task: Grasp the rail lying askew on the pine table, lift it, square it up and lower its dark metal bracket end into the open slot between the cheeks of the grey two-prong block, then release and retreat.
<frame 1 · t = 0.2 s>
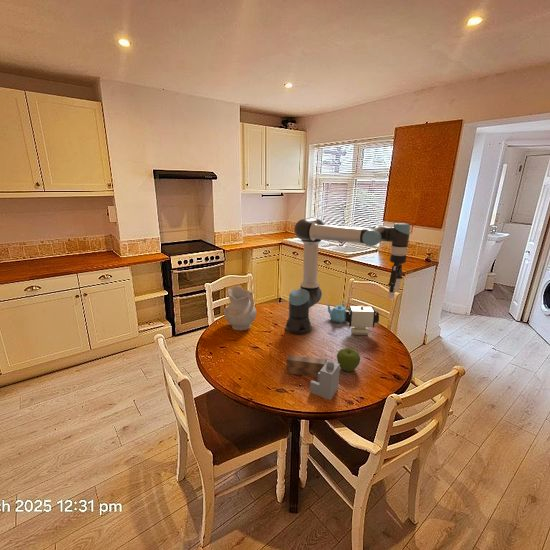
hand: (393, 294, 156), 28 cm above the table, fingers open, 13 cm apart
grey two-prong block: (328, 392, 124), on the table
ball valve: (359, 334, 173), on the table
teapot: (338, 320, 190), on the table
ceramic pitcher: (242, 327, 182), on the table
rail: (306, 372, 137), on the table
apple: (347, 369, 140), on the table
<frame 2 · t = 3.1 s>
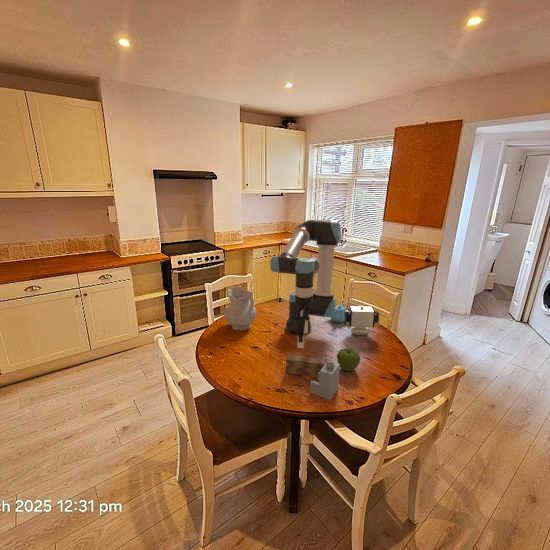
hand: (302, 340, 132), 17 cm above the table, fingers open, 13 cm apart
nothing on the table moved.
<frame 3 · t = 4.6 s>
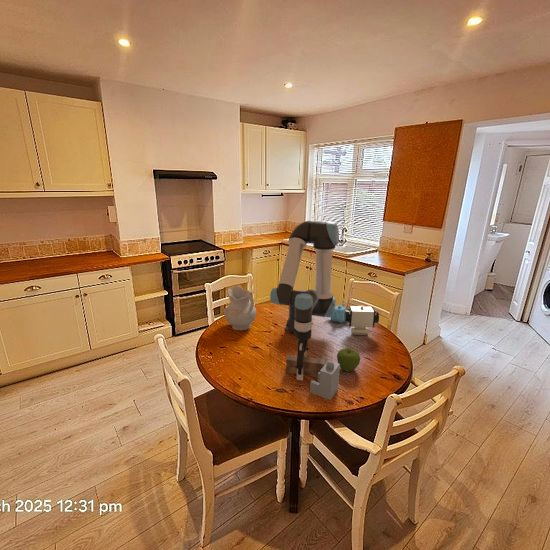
hand: (301, 370, 137), 1 cm above the table, fingers open, 12 cm apart
nothing on the table moved.
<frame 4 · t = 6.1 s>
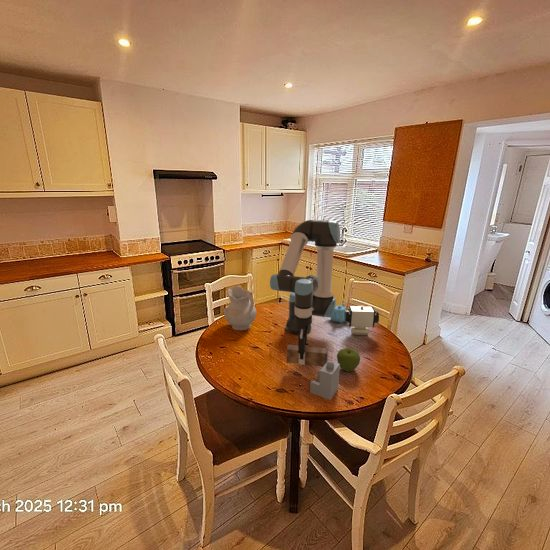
hand: (302, 361, 136), 5 cm above the table, fingers closed on rail, 4 cm apart
rail: (306, 362, 136), point 5 cm above the table, touching gripper
everything else where it was.
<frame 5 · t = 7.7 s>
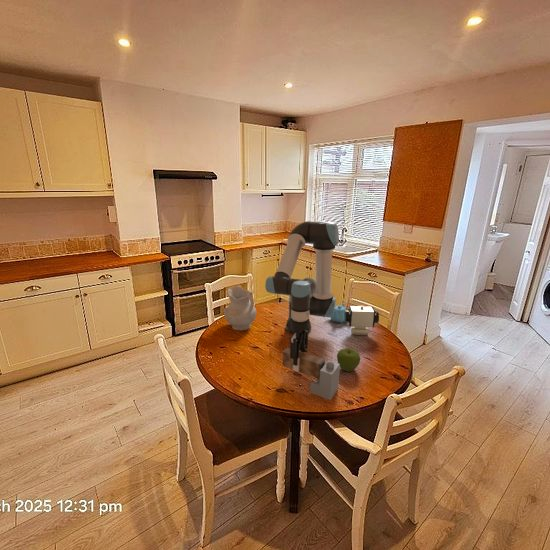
hand: (298, 368, 129), 7 cm above the table, fingers closed on rail, 4 cm apart
rail: (302, 370, 128), point 6 cm above the table, touching gripper
everything else where it was.
when the fingers open (0 cm above the table, at t = 9.1 s): rail stays where it is, on the table.
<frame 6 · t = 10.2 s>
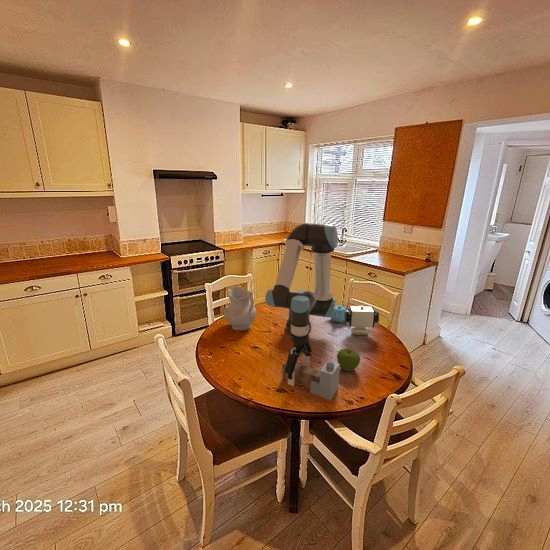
hand: (298, 376, 131), 2 cm above the table, fingers open, 13 cm apart
rail: (302, 382, 130), on the table
everything else where it was.
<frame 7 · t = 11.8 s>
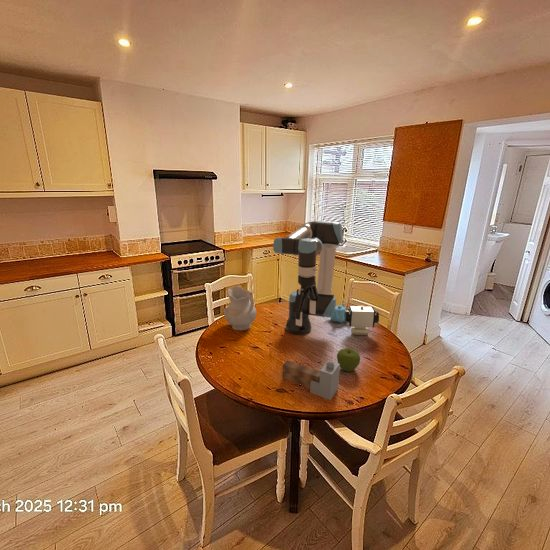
hand: (305, 319, 136), 24 cm above the table, fingers open, 13 cm apart
nothing on the table moved.
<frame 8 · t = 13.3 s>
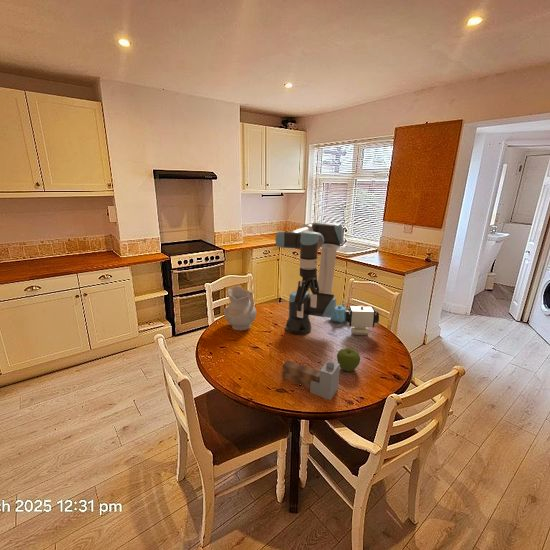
hand: (306, 312, 137), 27 cm above the table, fingers open, 13 cm apart
nothing on the table moved.
at the end: rail 0.1 cm from the target spot on the table beside the grey two-prong block, on the table; rail tilted 0°; the gripper is holding nothing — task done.
